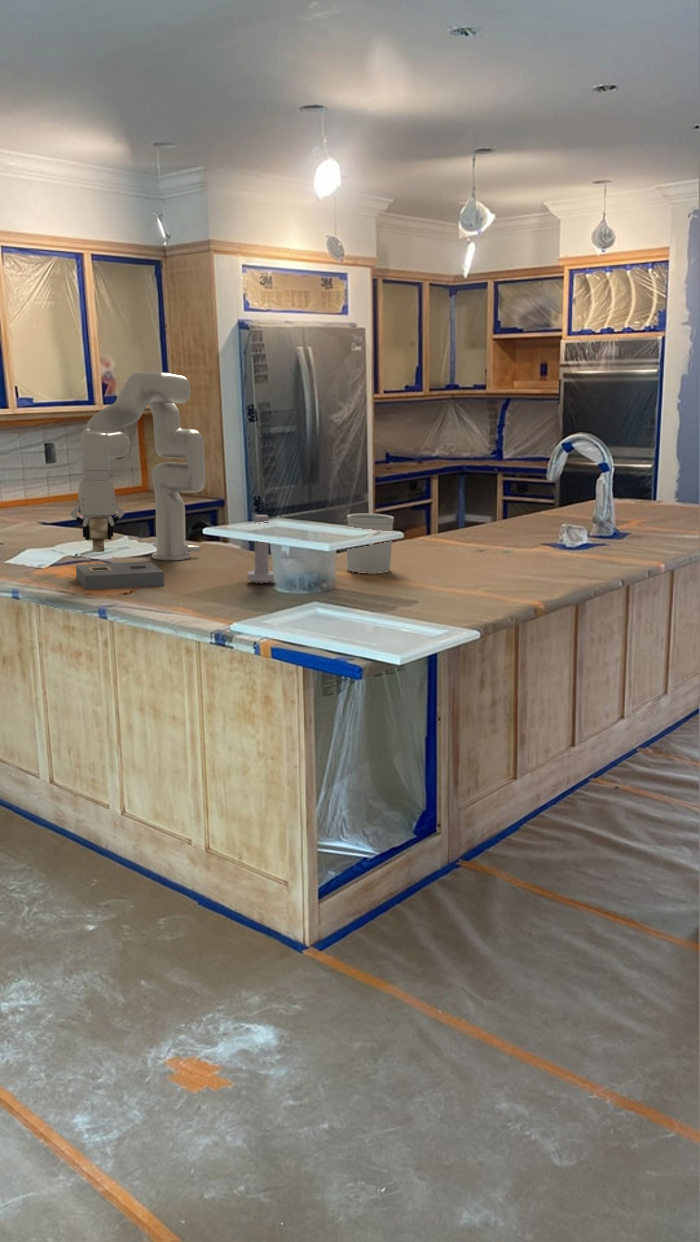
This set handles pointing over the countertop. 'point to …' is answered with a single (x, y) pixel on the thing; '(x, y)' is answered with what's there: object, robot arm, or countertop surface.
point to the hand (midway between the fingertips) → (98, 538)
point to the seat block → (119, 575)
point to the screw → (261, 559)
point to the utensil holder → (373, 555)
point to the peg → (98, 532)
